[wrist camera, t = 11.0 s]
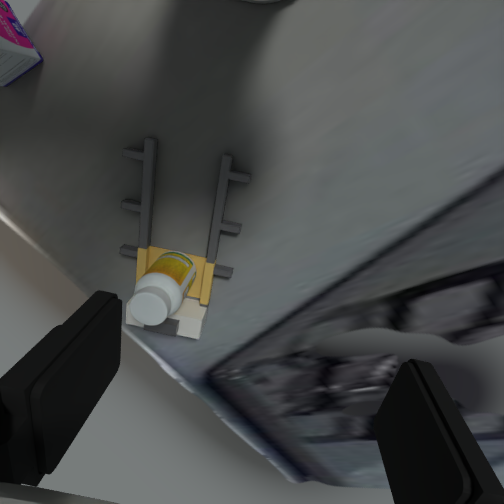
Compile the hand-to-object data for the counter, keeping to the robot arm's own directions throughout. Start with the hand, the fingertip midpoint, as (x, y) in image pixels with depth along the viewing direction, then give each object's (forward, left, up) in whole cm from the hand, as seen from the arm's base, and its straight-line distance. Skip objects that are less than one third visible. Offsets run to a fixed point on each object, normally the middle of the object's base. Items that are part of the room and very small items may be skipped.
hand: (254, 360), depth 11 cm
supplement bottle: (+13, -10, -28) cm, 33 cm away
